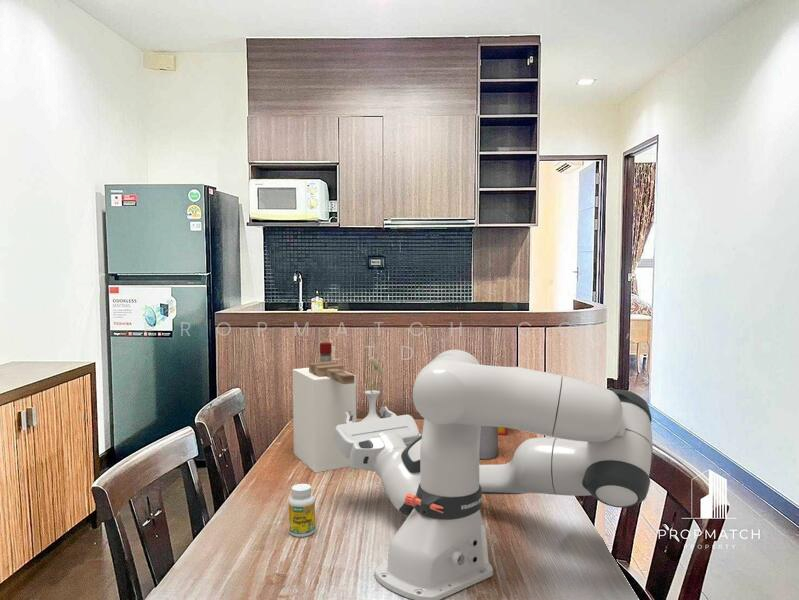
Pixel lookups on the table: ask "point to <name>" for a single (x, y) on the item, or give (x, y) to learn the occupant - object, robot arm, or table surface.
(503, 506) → the table surface
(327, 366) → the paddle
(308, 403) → the stand
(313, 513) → the supplement bottle
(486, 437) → the pillar candle
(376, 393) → the flower in vase
